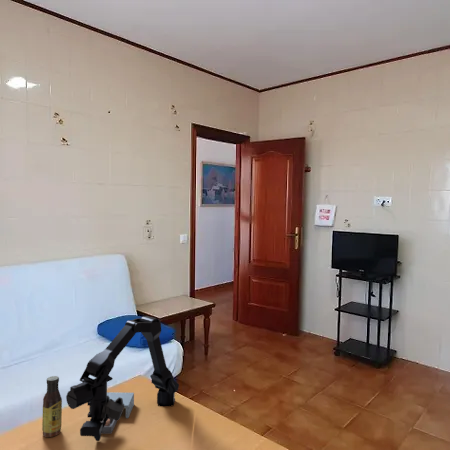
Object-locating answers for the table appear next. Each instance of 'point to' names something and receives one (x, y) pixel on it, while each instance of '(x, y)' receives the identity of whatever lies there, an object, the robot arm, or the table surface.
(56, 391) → the sauce bottle
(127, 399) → the grey small bench
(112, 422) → the tray
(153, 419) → the table surface
